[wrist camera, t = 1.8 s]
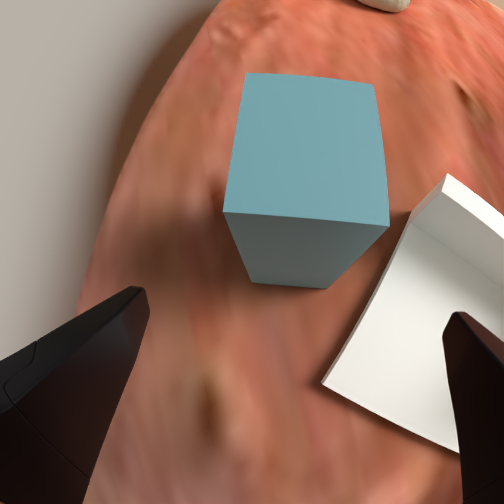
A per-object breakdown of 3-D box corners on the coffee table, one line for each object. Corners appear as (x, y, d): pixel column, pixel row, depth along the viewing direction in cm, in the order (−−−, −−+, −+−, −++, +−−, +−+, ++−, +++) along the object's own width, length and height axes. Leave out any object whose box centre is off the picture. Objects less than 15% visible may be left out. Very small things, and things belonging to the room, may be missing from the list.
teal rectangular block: (326, 288, 20) (389, 226, 9) (251, 282, 21) (222, 212, 9) (330, 204, 22) (372, 83, 10) (260, 198, 22) (246, 71, 11)
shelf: (487, 464, 15) (544, 490, 7) (320, 382, 19) (348, 408, 11) (548, 318, 18) (608, 305, 10) (411, 210, 21) (462, 156, 14)
